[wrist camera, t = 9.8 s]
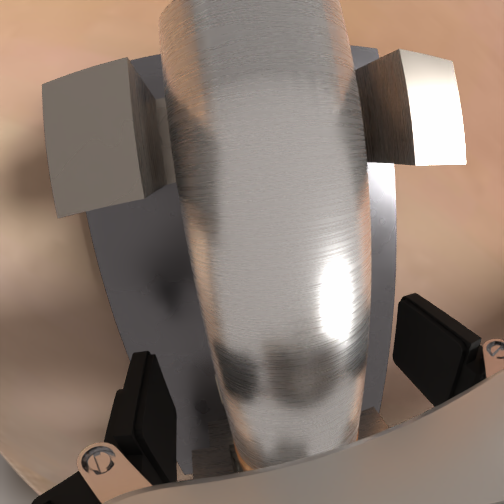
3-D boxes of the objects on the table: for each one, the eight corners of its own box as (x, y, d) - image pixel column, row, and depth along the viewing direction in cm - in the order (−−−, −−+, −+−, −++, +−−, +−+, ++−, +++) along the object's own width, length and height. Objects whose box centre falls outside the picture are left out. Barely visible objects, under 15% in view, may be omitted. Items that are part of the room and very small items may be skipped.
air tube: (169, 57, 9) (139, -14, 4) (311, 45, 9) (374, -18, 4) (250, 479, 15) (262, 545, 11) (330, 462, 16) (354, 523, 11)
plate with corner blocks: (367, 54, 13) (470, 6, 5) (370, 421, 20) (416, 491, 12) (78, 82, 11) (-13, 28, 4) (184, 464, 18) (189, 551, 11)
